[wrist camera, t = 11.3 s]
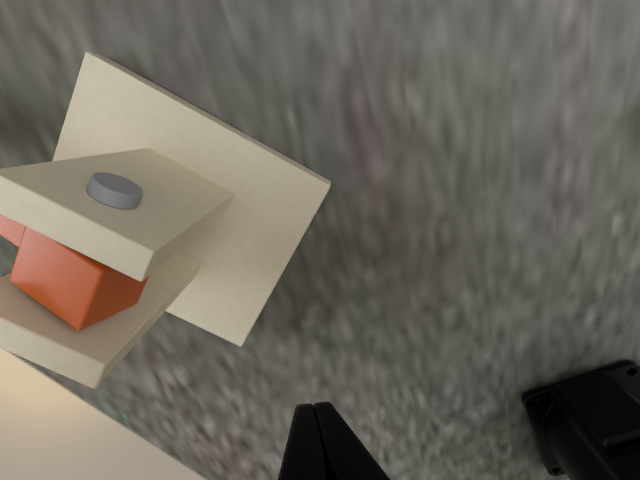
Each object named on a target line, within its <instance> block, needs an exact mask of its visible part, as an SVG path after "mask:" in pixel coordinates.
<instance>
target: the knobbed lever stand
mask: <svg viewBox="0 0 640 480" xmlns="http://www.w3.org/2000/svg"><path fill="white" fill-rule="evenodd" d="M330 187H331V181H330V180H328V179H326V178H324V177H323V176H321V175H319V174H317V173H315V172H314V171H312V170H310V169H308V168H306V167H304V166H303V165H301V164H299V163H297V162H295V161H294V160H292V159H290V158H288V157H286V156H285V155H283V154H281V153H279V152H277V151H276V150H274V149H272V148H270V147H268V146H266V145H265V144H263V143H261V142H259V141H257V140H256V139H254V138H252V137H250V136H248V135H247V134H245V133H243V132H241V131H239V130H238V129H236V128H234V127H232V126H230V125H228V124H227V123H225V122H223V121H221V120H219V119H218V118H216V117H214V116H212V115H210V114H209V113H207V112H205V111H203V110H201V109H199V108H198V107H196V106H194V105H192V104H190V103H189V102H187V101H185V100H183V99H181V98H180V97H178V96H176V95H174V94H172V93H171V92H169V91H167V90H165V89H163V88H161V87H160V86H158V85H156V84H154V83H152V82H151V81H149V80H147V79H145V78H143V77H142V76H140V75H138V74H136V73H134V72H133V71H131V70H129V69H127V68H125V67H123V66H122V65H120V64H118V63H116V62H114V61H113V60H111V59H109V58H107V57H104V56H101V55H97V54H94V53H90V52H86V53H85V56H84V59H83V63H82V66H81V69H80V72H79V76H78V79H77V82H76V85H75V89H74V92H73V95H72V98H71V102H70V105H69V108H68V111H67V115H66V118H65V121H64V124H63V128H62V131H61V134H60V137H59V141H58V144H57V147H56V150H55V154H54V157H53V160H52V162H45V163H38V164H30V165H23V166H16V167H9V168H2V169H0V214H1V215H3V216H5V217H7V218H10V219H12V220H14V221H16V222H18V223H20V224H22V225H24V226H26V227H28V228H30V229H32V230H34V231H36V232H39V233H41V234H43V235H45V236H47V237H49V238H51V239H53V240H55V241H57V242H59V243H61V244H63V245H65V246H68V247H70V248H72V249H74V250H76V251H78V252H80V253H82V254H84V255H86V256H88V257H90V258H92V259H94V260H97V261H99V262H101V263H103V264H105V265H107V266H109V267H111V268H113V269H115V270H117V271H119V272H121V273H123V274H126V275H128V276H130V277H132V278H134V279H136V280H138V281H140V282H142V281H143V280H144V279H145V278H147V277H148V276H149V278H148V280H147V282H146V285H145V287H144V289H143V291H142V294H141V296H140V298H139V301H138V303H137V304H136V305H134V306H131V307H129V308H127V309H125V310H123V311H121V312H119V313H117V314H115V315H112V316H110V317H108V318H106V319H104V320H102V321H100V322H98V323H96V324H93V325H91V326H89V327H87V328H85V329H83V330H81V331H78V330H76V329H75V328H74V327H72V326H71V325H70V324H68V323H67V322H65V321H64V320H63V319H61V318H60V317H59V316H57V315H56V314H54V313H53V312H52V311H50V310H49V309H48V308H46V307H45V306H44V305H42V304H41V303H39V302H38V301H37V300H35V299H34V298H33V297H31V296H30V295H28V294H27V293H26V292H24V291H23V290H22V289H20V288H19V287H17V286H16V285H15V284H13V283H12V282H11V281H10V276H11V273H10V274H8V275H6V276H4V277H2V278H0V348H2V349H4V350H7V351H9V352H11V353H13V354H16V355H18V356H20V357H23V358H25V359H27V360H29V361H32V362H34V363H36V364H38V365H41V366H43V367H45V368H48V369H50V370H52V371H54V372H57V373H59V374H61V375H63V376H66V377H68V378H70V379H73V380H75V381H77V382H79V383H82V384H84V385H86V386H88V387H91V388H93V389H96V388H97V387H98V386H99V385H100V384H101V383H102V381H103V380H104V379H105V378H106V377H107V376H108V375H109V374H110V372H111V371H112V370H113V369H114V368H115V367H116V366H117V365H118V363H119V362H120V361H121V360H122V359H123V358H124V357H125V356H126V354H127V353H128V352H129V351H130V350H131V349H132V348H133V347H134V345H135V344H136V343H137V342H138V341H139V340H140V339H141V338H142V336H143V335H144V334H145V333H146V332H147V331H148V330H149V329H150V327H151V326H152V325H153V324H154V323H155V322H156V321H157V320H158V318H159V317H160V316H161V315H162V314H163V313H164V312H165V311H167V312H169V313H171V314H173V315H175V316H177V317H179V318H182V319H184V320H186V321H188V322H190V323H192V324H194V325H196V326H198V327H200V328H202V329H205V330H207V331H209V332H211V333H213V334H215V335H217V336H219V337H221V338H223V339H226V340H228V341H230V342H232V343H234V344H236V345H238V346H240V347H241V346H242V345H243V343H244V341H245V340H246V338H247V336H248V334H249V332H250V331H251V329H252V327H253V325H254V323H255V322H256V320H257V318H258V316H259V314H260V313H261V311H262V309H263V307H264V305H265V304H266V302H267V300H268V298H269V296H270V295H271V293H272V291H273V289H274V287H275V286H276V284H277V282H278V280H279V278H280V277H281V275H282V273H283V271H284V270H285V268H286V266H287V264H288V262H289V261H290V259H291V257H292V255H293V253H294V252H295V250H296V248H297V246H298V244H299V243H300V241H301V239H302V237H303V235H304V234H305V232H306V230H307V228H308V226H309V225H310V223H311V221H312V219H313V217H314V216H315V214H316V212H317V210H318V208H319V207H320V205H321V203H322V201H323V199H324V198H325V196H326V194H327V192H328V190H329V189H330Z"/></svg>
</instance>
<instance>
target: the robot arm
mask: <svg viewBox="0 0 640 480" xmlns="http://www.w3.org/2000/svg"><path fill="white" fill-rule="evenodd" d="M629 369H630V370H629ZM628 370H629V371H628ZM521 399H522V403H523V406H524V409H525V412H526V415H527V418H528V420H529V423H530V426H531V429H532V432H533V435H534V438H535V440H536V443H537V446H538V449H539V452H540V455H541V458H542V460H543V463H544V466H545V468H546V470H547V471H548V473H549V474H550V475H551V476H559V475H563V474H567V476H568V477H569V479H570V480H640V367H639V366H638V365H637V364H636V363H634V362H633V361H630V360H626V361H622V362H619V363H616V364H613V365H610V366H607V367H604V368H601V369H597V370H594V371H591V372H588V373H585V374H582V375H579V376H575V377H572V378H569V379H566V380H563V381H560V382H557V383H554V384H550V385H547V386H544V387H541V388H538V389H535V390H532V391H528V392H526V393H524V395H523V396H522V398H521ZM531 400H533V401H531ZM530 401H531V402H530ZM278 480H390V479H389V477H388V476H387V475H386V474H385V472H384V471H383V470H382V468H381V467H380V466H379V465H378V463H377V462H376V461H375V459H374V458H373V457H372V456H371V454H370V453H369V452H368V450H367V449H366V448H365V447H364V445H363V444H362V443H361V441H360V440H359V439H358V437H357V436H356V435H355V434H354V432H353V431H352V430H351V428H350V427H349V426H348V425H347V423H346V422H345V421H344V419H343V418H342V417H341V416H340V414H339V413H338V412H337V410H336V409H335V408H334V407H333V405H332V404H331V403H330V402H319V403H315V404H314V405H312V404H310V403H309V404H300V405H297V406H296V408H295V412H294V416H293V420H292V424H291V428H290V433H289V437H288V441H287V445H286V449H285V453H284V457H283V461H282V465H281V469H280V474H279V478H278Z"/></svg>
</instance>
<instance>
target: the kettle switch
mask: <svg viewBox="0 0 640 480" xmlns="http://www.w3.org/2000/svg"><path fill="white" fill-rule="evenodd" d="M0 235H2V236H3V237H4V238H6V239H7V240H9V241H10V242H11V243H13V244H14V245H16V246H17V247H18V248H19V249H18V253H17V256H16V259H15V263H14V266H13V269H12V273H11V276H10V281H11V282H12V283H13V284H15V285H16V286H17V287H19V288H20V289H22V290H23V291H24V292H26V293H27V294H28V295H30V296H31V297H33V298H34V299H35V300H37V301H38V302H39V303H41V304H42V305H44V306H45V307H46V308H48V309H49V310H50V311H52V312H53V313H54V314H56V315H57V316H59V317H60V318H61V319H63V320H64V321H65V322H67V323H68V324H70V325H71V326H72V327H74V328H75V329H76V330H78V331H81V330H83V329H85V328H87V327H89V326H91V325H93V324H96V323H98V322H100V321H102V320H104V319H106V318H108V317H110V316H112V315H115V314H117V313H119V312H121V311H123V310H125V309H127V308H129V307H131V306H134V305H136V304H137V303H138V301H139V298H140V296H141V294H142V291H143V289H144V287H145V285H146V282H147V280H148V278H149V276H148V277H147V278H145V279H144V280H143V281H142V282H140V281H138V280H136V279H134V278H132V277H130V276H128V275H126V274H123V273H121V272H119V271H117V270H115V269H113V268H111V267H109V266H107V265H105V264H103V263H101V262H99V261H97V260H94V259H92V258H90V257H88V256H86V255H84V254H82V253H80V252H78V251H76V250H74V249H72V248H70V247H68V246H65V245H63V244H61V243H59V242H57V241H55V240H53V239H51V238H49V237H47V236H45V235H43V234H41V233H39V232H36V231H34V230H32V229H30V228H28V227H26V226H24V225H22V224H20V223H18V222H16V221H14V220H12V219H10V218H7V217H5V216H3V215H1V214H0Z"/></svg>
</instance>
